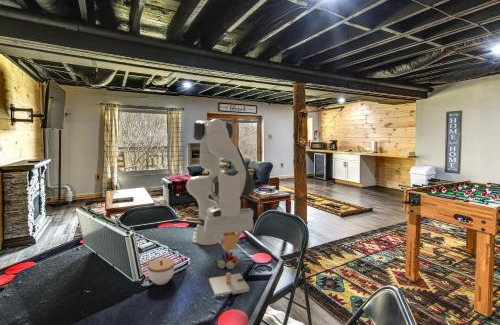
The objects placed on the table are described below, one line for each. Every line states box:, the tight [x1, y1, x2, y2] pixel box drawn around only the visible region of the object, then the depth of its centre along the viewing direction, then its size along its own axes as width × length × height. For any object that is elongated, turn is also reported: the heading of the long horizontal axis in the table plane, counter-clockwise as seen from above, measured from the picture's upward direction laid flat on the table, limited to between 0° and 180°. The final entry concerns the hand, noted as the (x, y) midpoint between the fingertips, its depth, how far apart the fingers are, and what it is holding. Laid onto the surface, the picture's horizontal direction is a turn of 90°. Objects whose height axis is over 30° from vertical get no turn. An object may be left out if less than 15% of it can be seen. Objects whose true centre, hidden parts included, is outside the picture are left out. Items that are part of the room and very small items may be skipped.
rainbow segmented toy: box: [217, 250, 238, 270], centre depth 128 cm, size 8×10×7 cm
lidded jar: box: [147, 257, 175, 286], centre depth 113 cm, size 11×11×9 cm
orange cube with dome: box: [221, 232, 238, 252], centre depth 109 cm, size 5×5×7 cm
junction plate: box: [208, 272, 250, 298], centre depth 111 cm, size 12×14×6 cm
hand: (228, 242), depth 109 cm, fingers closed on orange cube with dome, 5 cm apart
